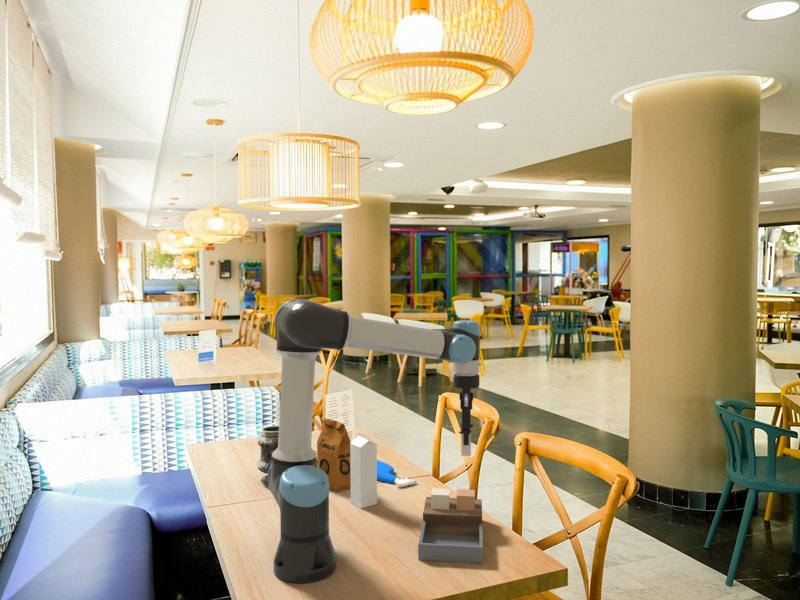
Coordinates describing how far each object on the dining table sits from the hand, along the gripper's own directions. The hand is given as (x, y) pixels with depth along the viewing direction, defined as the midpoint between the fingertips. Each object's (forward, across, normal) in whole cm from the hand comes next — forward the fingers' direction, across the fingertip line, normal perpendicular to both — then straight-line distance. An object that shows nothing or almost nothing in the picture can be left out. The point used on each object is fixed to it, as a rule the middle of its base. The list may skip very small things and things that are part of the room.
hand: (466, 452), depth 177 cm
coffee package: (+19, +19, +44) cm, 51 cm away
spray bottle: (+19, +29, +28) cm, 45 cm away
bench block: (+19, -9, +4) cm, 21 cm away
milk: (+19, +5, +32) cm, 37 cm away
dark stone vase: (+19, +22, +66) cm, 72 cm away
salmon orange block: (+13, -9, 0) cm, 16 cm away
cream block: (+13, -9, +7) cm, 17 cm away
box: (+19, -22, +4) cm, 29 cm away
